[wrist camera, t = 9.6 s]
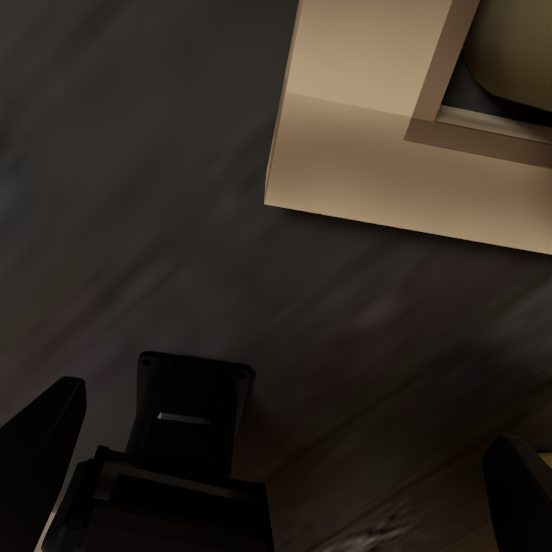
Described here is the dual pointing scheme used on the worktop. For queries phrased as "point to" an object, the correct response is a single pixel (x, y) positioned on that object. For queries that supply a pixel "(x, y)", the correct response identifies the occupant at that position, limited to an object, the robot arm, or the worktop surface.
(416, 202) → the socket board
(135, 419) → the robot arm
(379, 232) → the worktop surface
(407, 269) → the worktop surface
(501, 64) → the cork
